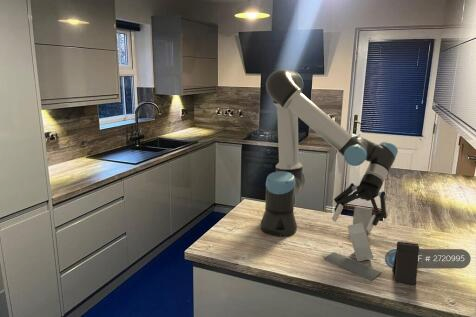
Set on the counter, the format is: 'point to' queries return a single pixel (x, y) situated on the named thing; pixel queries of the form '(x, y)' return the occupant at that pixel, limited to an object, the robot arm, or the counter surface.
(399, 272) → the phone stand
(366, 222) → the white tea box
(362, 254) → the small box
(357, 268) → the slate mat
